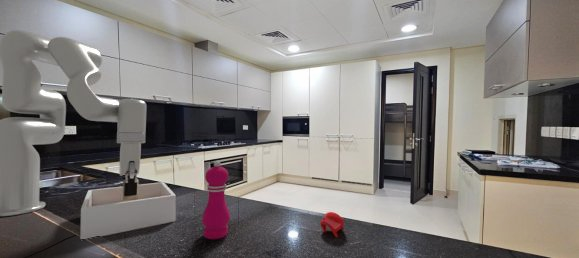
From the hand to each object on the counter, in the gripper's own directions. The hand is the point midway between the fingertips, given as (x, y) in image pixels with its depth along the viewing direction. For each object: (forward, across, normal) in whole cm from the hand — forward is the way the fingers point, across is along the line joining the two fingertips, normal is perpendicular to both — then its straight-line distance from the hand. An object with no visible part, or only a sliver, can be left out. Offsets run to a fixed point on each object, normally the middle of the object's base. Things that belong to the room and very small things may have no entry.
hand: (129, 191), depth 74 cm
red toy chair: (+7, +45, +45) cm, 65 cm away
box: (+8, 0, 0) cm, 8 cm away
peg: (+8, 0, 0) cm, 8 cm away
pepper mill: (+8, +27, +18) cm, 34 cm away
